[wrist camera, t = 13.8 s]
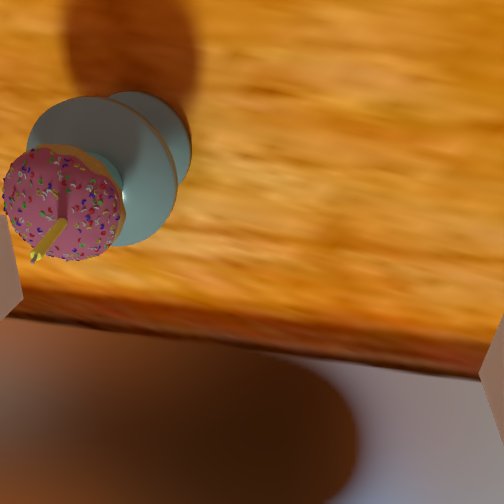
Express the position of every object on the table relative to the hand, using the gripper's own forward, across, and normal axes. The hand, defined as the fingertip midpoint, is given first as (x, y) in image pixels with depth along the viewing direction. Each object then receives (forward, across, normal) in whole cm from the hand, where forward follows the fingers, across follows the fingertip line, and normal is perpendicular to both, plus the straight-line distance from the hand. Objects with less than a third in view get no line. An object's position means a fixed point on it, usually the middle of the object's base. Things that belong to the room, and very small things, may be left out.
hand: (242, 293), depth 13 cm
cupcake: (+22, +16, +7) cm, 28 cm away
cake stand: (+31, +15, +7) cm, 35 cm away
